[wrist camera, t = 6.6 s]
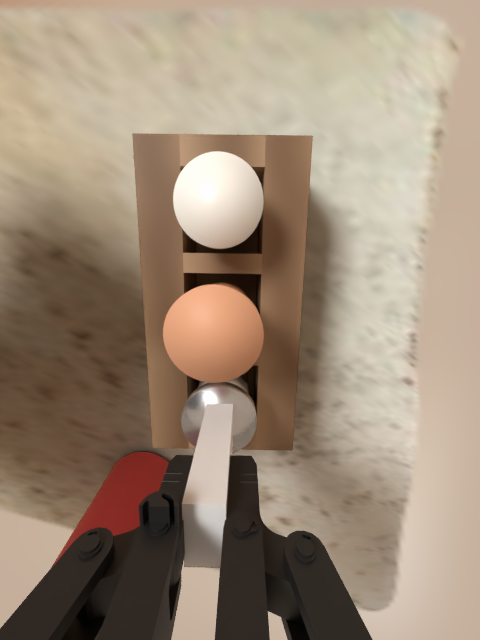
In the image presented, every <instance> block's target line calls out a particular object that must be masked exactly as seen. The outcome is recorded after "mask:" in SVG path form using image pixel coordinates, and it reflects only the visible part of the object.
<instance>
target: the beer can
mask: <svg viewBox="0 0 480 640" xmlns="http://www.w3.org/2000/svg"><path fill="white" fill-rule="evenodd" d="M168 464H169V463H168V462H167V461H166V460H165V459H164V458H162V457H161V456H159V455H157V454H154V453H149V452H134V453H132V454H129V455H126V456H124V457H123V458H121V459H120V460H119V461H118V462H116V464H115V465H114V467H113V469H112V470H111V472H110V473H109V475H108V477H107V478H106V480H105V482H104V483H103V485H102V486H101V488H100V490H99V491H98V493H97V495H96V496H95V498H94V499H93V501H92V503H91V504H90V506H89V508H88V509H87V511H86V512H85V514H84V516H83V517H82V519H81V520H80V522H79V524H78V525H77V527H76V529H75V530H74V532H73V533H72V535H71V537H70V538H69V540H68V542H67V543H66V545H65V546H64V548H63V550H62V551H61V553H60V555H59V556H58V558H57V559H56V561H55V563H56V562H57V561H58V560H59V558H60V557H61V556H62V555H63V554H64V553H65V551H66V550H67V549H68V548H69V547H70V545H71V544H72V543H73V542H74V541H75V540H76V539H77V538H78V537H79V536H80V535H81V534H83V533H85V532H87V531H88V530H90V529H94V528H98V527H101V528H107V529H108V530H110V531H111V532H112V535H113V536H115V535H119V534H122V533H125V532H129V531H131V530H134V529H135V528H137V527H139V526H140V519H139V505H140V503H141V502H142V500H143V499H144V498H145V497H147V496H148V495H149V494H151V493H154V492H156V491H159V489H160V486H161V483H162V481H163V478H164V475H165V472H166V469H167V467H168ZM55 563H54V564H55ZM54 564H53V566H54ZM53 566H52V567H53Z"/></svg>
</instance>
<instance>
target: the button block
mask: <svg viewBox="0 0 480 640" xmlns="http://www.w3.org/2000/svg"><path fill="white" fill-rule="evenodd" d="M312 139H313V136H286V135H205V134H133V149H134V164H135V180H136V195H137V211H138V227H139V242H140V258H141V274H142V289H143V305H144V321H145V336H146V352H147V367H148V383H149V399H150V414H151V430H152V446H153V448H192V449H196V447H195V446H193V445H192V444H191V443H190V442H189V441H188V439H187V438H186V436H185V434H184V432H183V429H182V424H181V417H182V412H183V409H184V406H185V404H186V401H187V399H188V398H189V396H190V395H191V393H192V392H193V391H194V390H196V389H197V388H198V387H199V384H200V381H199V380H196V379H194V378H192V377H190V376H188V375H186V374H185V373H183V372H182V371H181V370H180V369H179V368H178V367H177V366H176V365H175V364H174V363H173V362H172V360H171V359H170V357H169V355H168V353H167V351H166V348H165V345H164V340H163V327H164V321H165V318H166V315H167V313H168V311H169V309H170V308H171V306H172V305H173V304H174V303H175V301H176V300H177V299H178V298H180V297H181V296H182V295H183V294H185V293H186V292H188V291H190V290H192V289H194V288H196V287H199V286H202V285H207V284H213V283H217V282H230V283H233V284H235V285H237V286H239V287H240V288H241V289H242V290H243V291H244V292H245V293H246V295H247V297H248V298H249V299H250V300H251V301H252V302H253V304H254V305H255V307H256V308H257V310H258V312H259V314H260V318H261V321H262V324H263V330H264V340H263V346H262V350H261V352H260V355H259V357H258V359H257V360H256V362H255V363H254V365H253V366H252V367H251V368H250V369H249V370H248V392H249V396H250V397H251V398H252V400H253V402H254V405H255V409H256V417H257V426H256V431H255V433H254V436H253V437H252V439H251V441H250V442H249V443H248V444H247V445H246V446H245V447H243V448H242V449H248V450H292V449H293V434H294V418H295V403H296V387H297V372H298V356H299V341H300V325H301V309H302V294H303V278H304V263H305V247H306V232H307V216H308V201H309V185H310V170H311V154H312ZM215 151H220V152H227V153H231V154H234V155H236V156H238V157H240V158H241V159H243V160H244V161H245V162H247V163H248V164H249V165H250V166H251V167H252V169H253V170H254V171H255V173H256V175H257V176H258V178H259V181H260V183H261V186H262V190H263V198H264V203H263V211H262V215H261V218H260V221H259V223H258V225H257V227H256V229H255V230H254V232H253V233H252V234H251V235H250V236H249V237H248V238H247V239H246V240H245V241H243V242H242V243H240V244H238V245H236V246H234V247H231V248H226V249H215V248H210V247H207V246H204V245H201V244H199V243H198V242H196V241H194V240H193V239H192V238H190V237H189V236H188V235H187V234H186V233H185V231H184V230H183V229H182V227H181V226H180V224H179V222H178V220H177V217H176V215H175V211H174V205H173V193H174V187H175V184H176V181H177V178H178V176H179V174H180V173H181V171H182V170H183V168H184V167H185V166H186V165H187V164H188V163H189V162H190V161H191V160H193V159H194V158H196V157H198V156H199V155H202V154H205V153H208V152H215Z"/></svg>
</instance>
